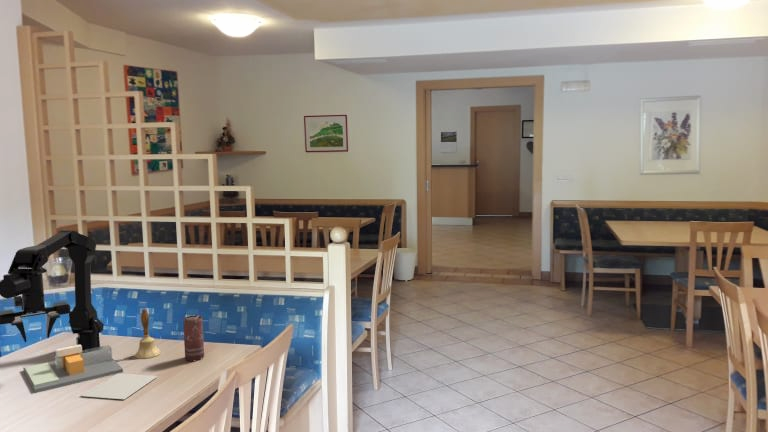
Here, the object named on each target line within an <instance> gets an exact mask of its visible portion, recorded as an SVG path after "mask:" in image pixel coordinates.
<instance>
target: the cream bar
mask: <svg viewBox="0 0 768 432" xmlns="http://www.w3.org/2000/svg"><path fill="white" fill-rule="evenodd" d="M80 352H82V346H81V345H77V344H75V345H72V346H71V345H70V346H66V347H60V348H56V349H55V356H57V357H61V356H66V355H71V354H75V353H78V354H80Z"/></svg>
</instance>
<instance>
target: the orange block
mask: <svg viewBox="0 0 768 432" xmlns="http://www.w3.org/2000/svg"><path fill="white" fill-rule="evenodd" d="M61 357H62V360H63V367H64V368H65V369H66V371H67V372H68V374H69V375H74V374H79V373H83V372H84V361H83V359H82V358H81V356H80V353H75V354H71V355H66V356H61Z"/></svg>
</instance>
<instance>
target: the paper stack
mask: <svg viewBox="0 0 768 432" xmlns="http://www.w3.org/2000/svg"><path fill="white" fill-rule="evenodd" d="M158 377H159V375H149V374H148V375H147V374H133V373H132V374H131V373H116V374H113V375H111V376H110V377H109V378H107V379H106V380H104V381H103V382H101V383H98V384H97V385H96V386H94V387H93V388H91V389H89V390H88V391H85V392H84V393H82V394H81V395H80V397H88V398H89V397H90V398H102V399H115V400H126V399H127V398H128V397H130V396H131V395H133V394H134V393H136V392H137V391H139V390H140V389H142V388H143V387H144V386H146V385H147V384H149V383H150V382H152V381H154V380H155V379H156V378H158Z"/></svg>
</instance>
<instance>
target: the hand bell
mask: <svg viewBox="0 0 768 432" xmlns="http://www.w3.org/2000/svg"><path fill="white" fill-rule="evenodd" d="M147 310H148V309H147V308H142V310H141V314H140V322H141V325H142V327H143V331H142V332H143V338H141V339H140V340H139V346H138V350H137V351H136V352H135V354H134V357H135V358H136V359H139V360H146V359H152V358H155V357H158V356H160V354H161V352H162V351H161V350H160V349H159V348H158V347H157V346H156V343H155V339H154V337H151V336H150V332H149V323H150V315H149V312H148V311H147Z"/></svg>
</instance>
